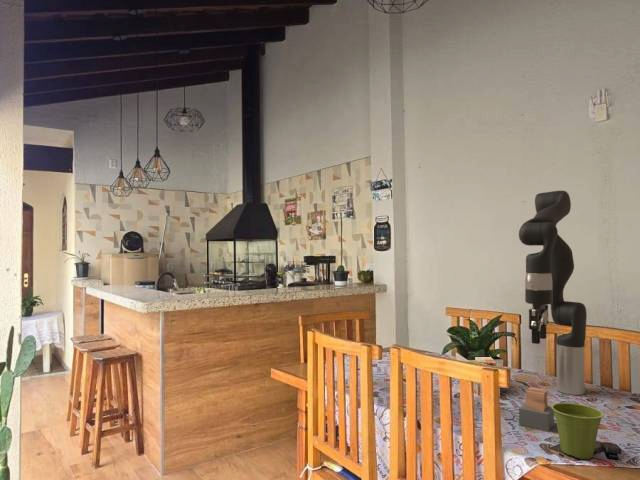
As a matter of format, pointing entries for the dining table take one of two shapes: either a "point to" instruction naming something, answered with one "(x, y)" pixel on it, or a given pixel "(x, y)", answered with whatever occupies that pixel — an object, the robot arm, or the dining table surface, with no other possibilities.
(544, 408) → the terracotta cube
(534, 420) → the grey base block
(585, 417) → the plant pot
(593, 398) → the dining table surface
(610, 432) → the dining table surface
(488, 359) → the stack of blocks
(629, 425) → the dining table surface
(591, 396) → the dining table surface
